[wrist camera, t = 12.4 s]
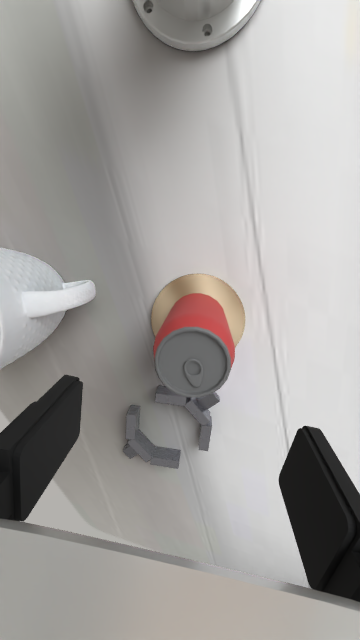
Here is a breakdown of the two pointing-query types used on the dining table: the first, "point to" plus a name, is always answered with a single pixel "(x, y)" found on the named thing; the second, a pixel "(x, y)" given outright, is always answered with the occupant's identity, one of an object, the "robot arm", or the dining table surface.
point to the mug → (33, 302)
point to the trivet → (204, 286)
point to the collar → (159, 454)
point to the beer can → (194, 347)
